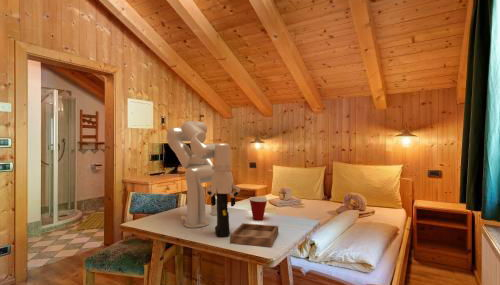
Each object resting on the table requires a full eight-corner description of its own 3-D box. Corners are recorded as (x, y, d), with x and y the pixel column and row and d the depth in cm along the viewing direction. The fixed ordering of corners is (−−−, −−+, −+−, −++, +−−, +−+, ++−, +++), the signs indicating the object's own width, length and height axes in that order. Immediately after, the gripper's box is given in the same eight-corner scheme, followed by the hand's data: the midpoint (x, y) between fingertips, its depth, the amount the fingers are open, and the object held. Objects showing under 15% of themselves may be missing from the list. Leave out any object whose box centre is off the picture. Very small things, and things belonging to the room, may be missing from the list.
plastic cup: (266, 222, 143) (266, 200, 143) (247, 221, 145) (247, 199, 145) (269, 217, 154) (268, 196, 154) (251, 216, 156) (251, 196, 156)
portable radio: (230, 236, 121) (229, 181, 122) (217, 237, 119) (216, 182, 120) (227, 231, 128) (226, 180, 130) (215, 233, 126) (214, 181, 128)
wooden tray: (230, 243, 113) (230, 235, 113) (242, 230, 130) (242, 223, 130) (271, 247, 108) (270, 238, 108) (278, 233, 125) (278, 225, 125)
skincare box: (220, 216, 158) (220, 198, 158) (210, 215, 160) (210, 198, 160) (227, 211, 167) (227, 195, 168) (218, 211, 170) (218, 194, 170)
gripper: (202, 170, 123) (202, 206, 122) (237, 170, 118) (237, 208, 117) (209, 168, 130) (209, 203, 129) (242, 168, 125) (242, 204, 125)
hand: (223, 205), depth 123 cm, fingers open, 9 cm apart
